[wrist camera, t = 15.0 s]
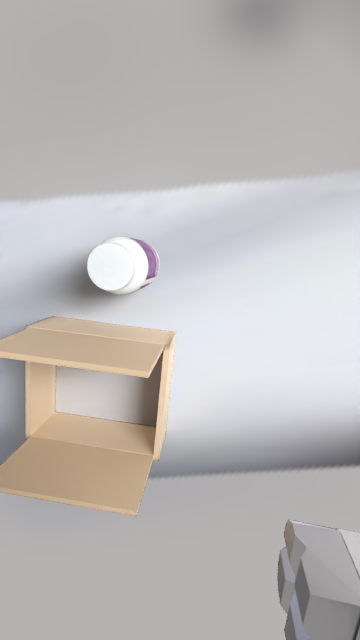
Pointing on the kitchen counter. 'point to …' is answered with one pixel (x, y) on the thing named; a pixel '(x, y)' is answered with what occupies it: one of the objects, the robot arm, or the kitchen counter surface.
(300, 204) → the kitchen counter surface
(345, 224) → the kitchen counter surface
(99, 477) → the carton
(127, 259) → the pill bottle
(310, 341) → the kitchen counter surface
